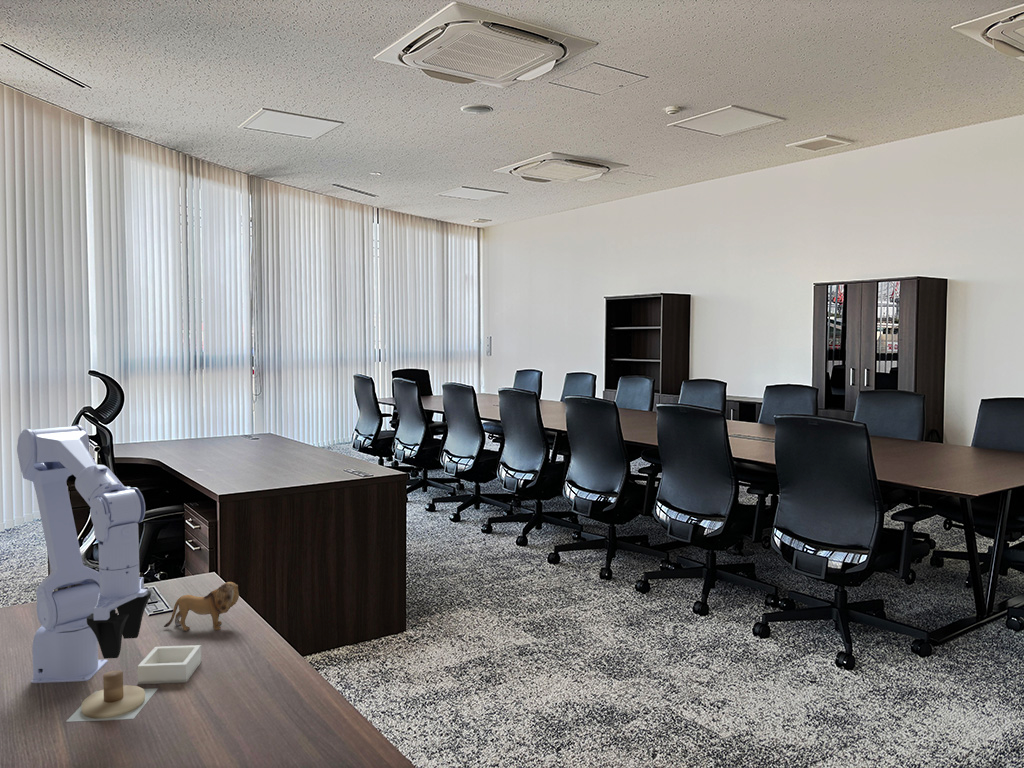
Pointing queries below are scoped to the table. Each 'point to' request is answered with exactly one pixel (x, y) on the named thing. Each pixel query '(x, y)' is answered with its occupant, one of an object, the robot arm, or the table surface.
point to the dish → (169, 664)
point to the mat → (130, 715)
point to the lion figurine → (206, 605)
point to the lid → (113, 698)
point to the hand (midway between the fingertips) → (121, 647)
